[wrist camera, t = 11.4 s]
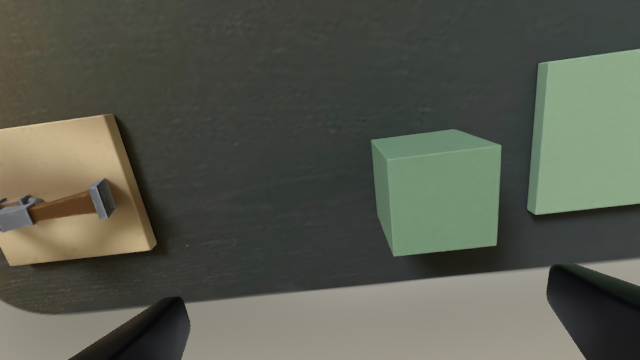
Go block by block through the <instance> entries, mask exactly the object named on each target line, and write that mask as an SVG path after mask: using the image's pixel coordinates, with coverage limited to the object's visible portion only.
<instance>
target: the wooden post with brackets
mask: <svg viewBox="0 0 640 360" xmlns="http://www.w3.org/2000/svg"><path fill="white" fill-rule="evenodd" d="M115 209H116V207H115V204H114V201H113V198H112V195H111V192H110V189H109V187H108V184H107V181H106V178H104V179H102V180H97V181H96V182H95V183H94V184H92V185H91V186H90V187H89V188H88V190H86V191H83V192H80V193H77V194H73V195H70V196H67V197H63V198H60V199H57V200H53V201H50V202H45V203H41V200H40V199H39V198H35V197H34V198H30V196H29V194H27V195H25V196H23V197H20V198H16V199H12V200H7V198H6V197H4V198H2V199H0V231H2V233H4V232H7V231H10V230H13V229H17V228H22V227H26V226H34V225H35V224H36V223H38V222H39V221H44V220H49V219H54V218H61V217H68V216H75V215H82V214H96V213H97V214H98V217H99V219H103V218H107V219H108V218H109V217H110V216H111V214H112V213H113V211H114V210H115Z"/></svg>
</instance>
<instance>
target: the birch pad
mask: <svg viewBox="0 0 640 360" xmlns="http://www.w3.org/2000/svg"><path fill="white" fill-rule="evenodd" d="M104 178H106V181H107V184H108V187H109V189H110V192H111V195H112V198H113V201H114V204H115V207H116V209H115V210H114V211H113V213H112V214H111V216H110V217H109V218H108V219H107V218H103V219H99V217H98V214H97V213H96V214H82V215H75V216H68V217H61V218H54V219H49V220H44V221H39V222H38V223H36V224H35V225H34V226H26V227H22V228H17V229H13V230H10V231H7V232H4V233H2V231H0V247H1V249H2V251H3V253H4V255H5V257H6V259H7V261H8V262H9V264H10V266H16V265H25V264H34V263H43V262H52V261H61V260H69V259H78V258H87V257H96V256H105V255H114V254H122V253H131V252H140V251H149V250H151V249H152V248H153V247H154V246H155V245H157V242H156V239H155V236H154V233H153V230H152V227H151V224H150V221H149V218H148V215H147V212H146V210H145V207H144V204H143V201H142V198H141V195H140V192H139V189H138V186H137V183H136V180H135V177H134V174H133V171H132V168H131V165H130V162H129V159H128V156H127V153H126V150H125V147H124V144H123V141H122V138H121V135H120V132H119V129H118V127H117V124H116V121H115V118H114V115H113V114H104V115H97V116H90V117H83V118H76V119H69V120H62V121H55V122H48V123H41V124H34V125H27V126H20V127H13V128H6V129H0V199H2V198H4V197H6V198H7V200H12V199H16V198H20V197H23V196H25V195H27V194H29V196H30V198H34V197H35V198H39V199H40V200H41V203H45V202H50V201H53V200H57V199H60V198H63V197H67V196H70V195H73V194H77V193H80V192H83V191H86V190H88V188H89V187H90V186H91V185H92V184H94V183H95V182H96V181H97V180H102V179H104Z"/></svg>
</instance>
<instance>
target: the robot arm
mask: <svg viewBox="0 0 640 360" xmlns="http://www.w3.org/2000/svg"><path fill="white" fill-rule="evenodd" d="M547 300H548V302H549V304H550V306H551V307H552V309H553V310H554V312H555V313H556V315H557V316H558V318H559V319H560V321H561V322H562V324H563V325H564V326H565V328H566V330H567V331H568V333H569V334H570V336H571V337H572V339H573V340H574V342H575V343H576V345H577V346H578V348H579V349H580V351H581V352H582V354H583V355H584V357H585V358H586V360H640V286H637V285H634V284H631V283H629V282H625V281H623V280H620V279H617V278H614V277H611V276H608V275H605V274H602V273H599V272H597V271H594V270H591V269H588V268H585V267H582V266H579V265H576V264H573V263H565V264H555V265H553V266H551V268H550V271H549V278H548V285H547ZM189 333H190V320H189V317H188V314H187V310H186V307H185V304H184V301H183V299H182V298H181V297H167V298H163V299H161V300H160V301H158V302H157V303H155V304H154V305H152V306H150V307H149V308H147V309H146V310H144V311H143V312H141V313H140V314H138V315H137V316H135V317H133V318H132V319H131V320H129V321H127V322H126V323H124V324H123V325H121V326H120V327H118V328H116V329H115V330H113V331H112V332H110V333H109V334H107V335H106V336H104V337H103V338H101V339H99V340H98V341H96V342H95V343H94V344H92V345H90V346H89V347H87V348H85V349H84V350H82V351H81V352H79V353H78V354H76V355H75V356H73V357H72V358H70V359H68V360H181V358H182V355H183V352H184V349H185V346H186V342H187V339H188V336H189Z"/></svg>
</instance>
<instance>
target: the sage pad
mask: <svg viewBox="0 0 640 360" xmlns="http://www.w3.org/2000/svg"><path fill="white" fill-rule="evenodd" d="M639 203H640V49H635V50H628V51H621V52H614V53H607V54H600V55H593V56H586V57H579V58H571V59H564V60H557V61H550V62H543V63H539V64H538V75H537V88H536V101H535V114H534V127H533V139H532V152H531V165H530V178H529V190H528V203H527V210H528V211H530V212H532V213H533V214H535V215H541V214H549V213H558V212H567V211H576V210H585V209H594V208H603V207H612V206H621V205H630V204H639Z"/></svg>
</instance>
